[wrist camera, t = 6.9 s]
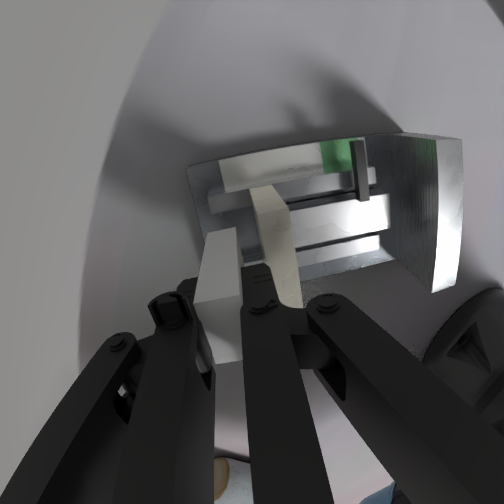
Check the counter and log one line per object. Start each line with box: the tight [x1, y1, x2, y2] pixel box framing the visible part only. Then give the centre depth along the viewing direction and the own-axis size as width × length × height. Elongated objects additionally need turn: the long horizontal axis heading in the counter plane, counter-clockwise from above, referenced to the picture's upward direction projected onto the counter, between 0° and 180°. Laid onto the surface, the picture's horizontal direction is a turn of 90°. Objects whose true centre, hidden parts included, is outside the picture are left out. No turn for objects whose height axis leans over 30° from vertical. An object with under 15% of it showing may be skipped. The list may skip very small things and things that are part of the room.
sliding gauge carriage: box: [249, 140, 391, 308], centre depth 15 cm, size 8×7×6 cm
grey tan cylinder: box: [214, 457, 253, 504], centre depth 29 cm, size 11×8×8 cm
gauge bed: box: [186, 132, 463, 293], centre depth 16 cm, size 15×9×6 cm, turn 101°
